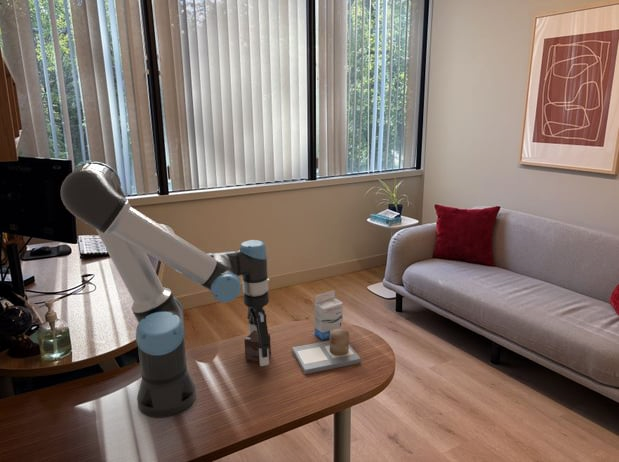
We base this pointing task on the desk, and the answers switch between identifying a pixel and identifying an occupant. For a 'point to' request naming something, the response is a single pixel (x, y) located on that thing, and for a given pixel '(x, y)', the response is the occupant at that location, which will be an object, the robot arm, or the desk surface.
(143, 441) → the desk surface
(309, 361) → the grey tray with squares
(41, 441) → the desk surface
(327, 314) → the ink box
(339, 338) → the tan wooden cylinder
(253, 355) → the box
